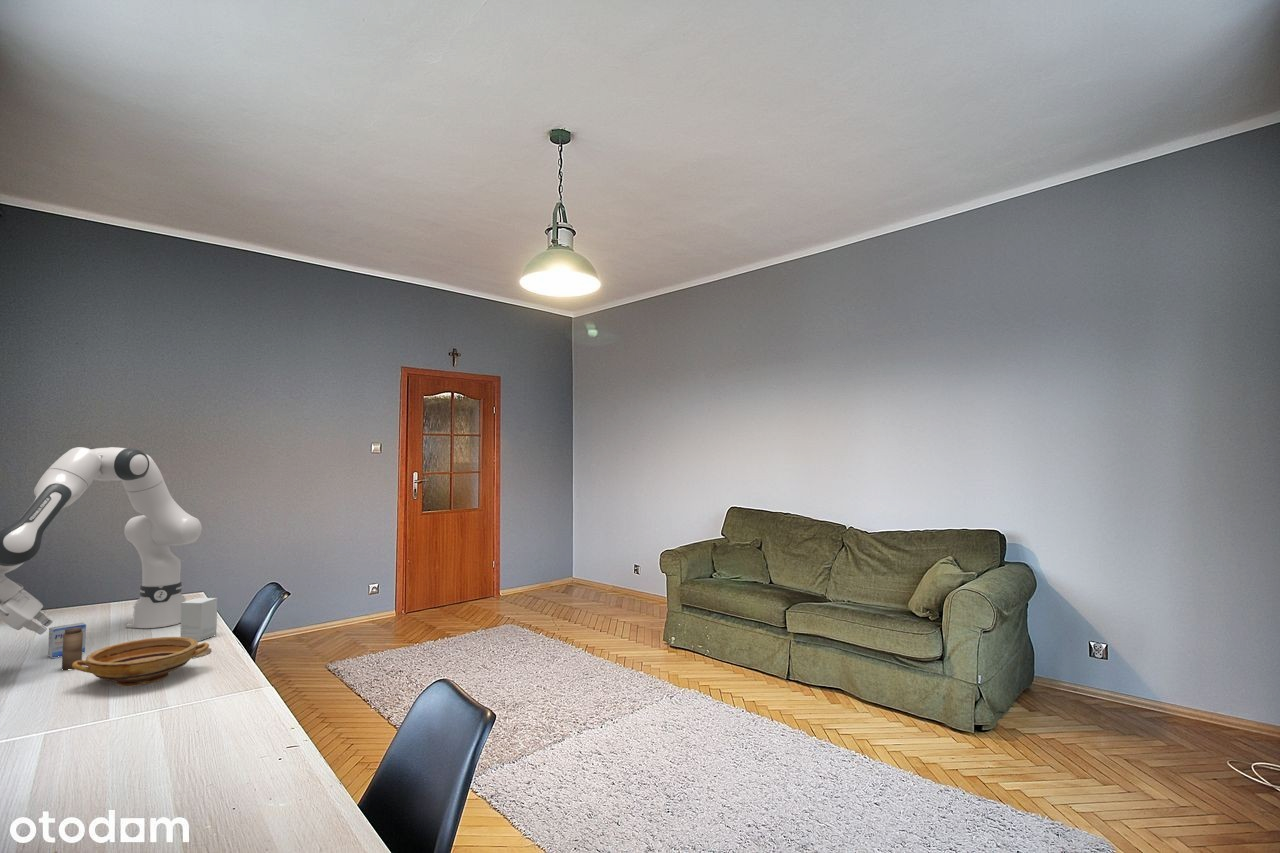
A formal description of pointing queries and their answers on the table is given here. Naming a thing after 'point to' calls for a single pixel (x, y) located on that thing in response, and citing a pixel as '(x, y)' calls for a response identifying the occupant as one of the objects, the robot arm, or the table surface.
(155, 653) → the ceramic bowl
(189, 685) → the table surface
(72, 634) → the pepper mill
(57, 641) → the medicine box
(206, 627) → the supplement box
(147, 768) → the table surface
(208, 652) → the cork coaster
